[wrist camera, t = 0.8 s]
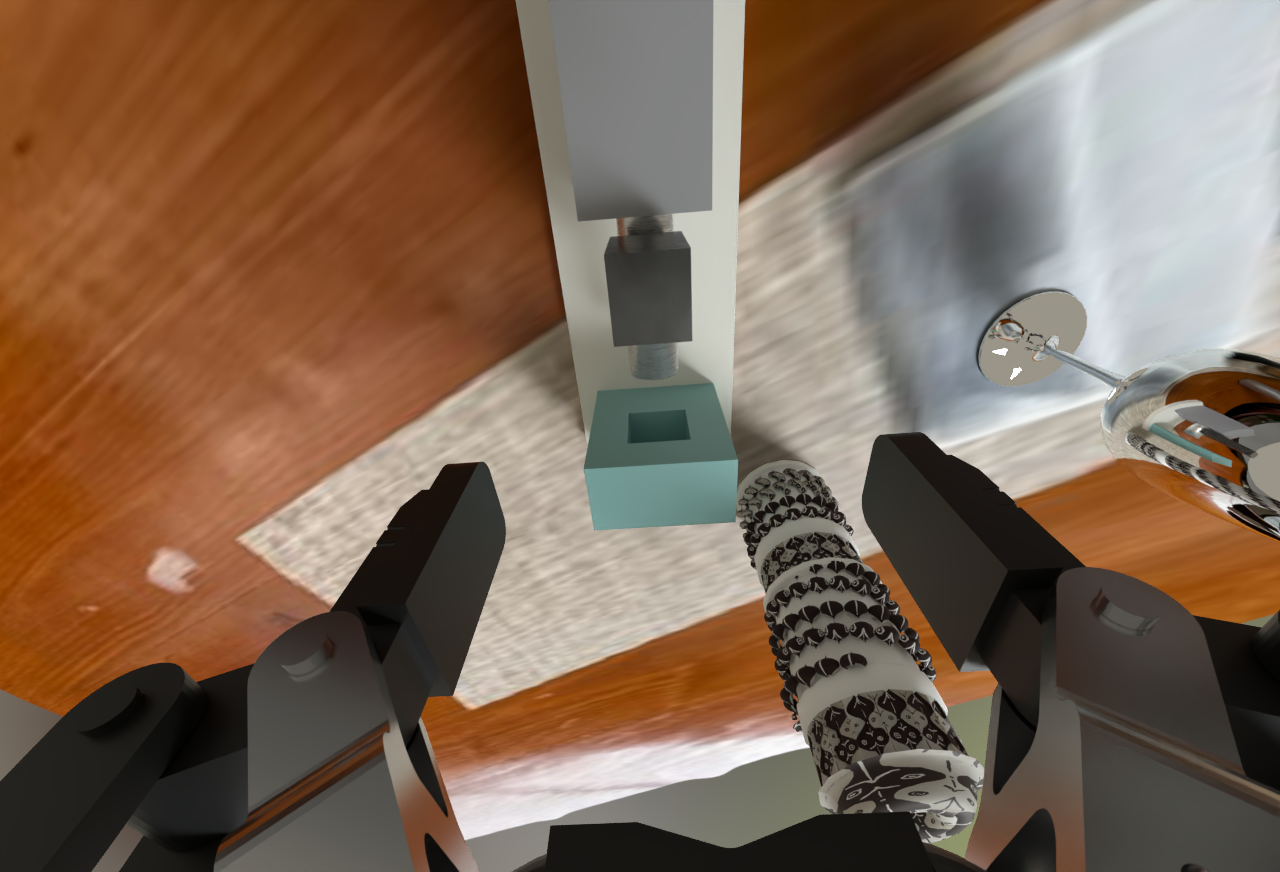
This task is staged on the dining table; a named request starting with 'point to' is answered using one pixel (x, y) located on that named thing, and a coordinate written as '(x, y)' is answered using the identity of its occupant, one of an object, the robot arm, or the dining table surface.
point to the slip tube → (649, 293)
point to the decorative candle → (851, 661)
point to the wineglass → (1163, 410)
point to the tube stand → (640, 163)
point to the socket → (660, 458)
